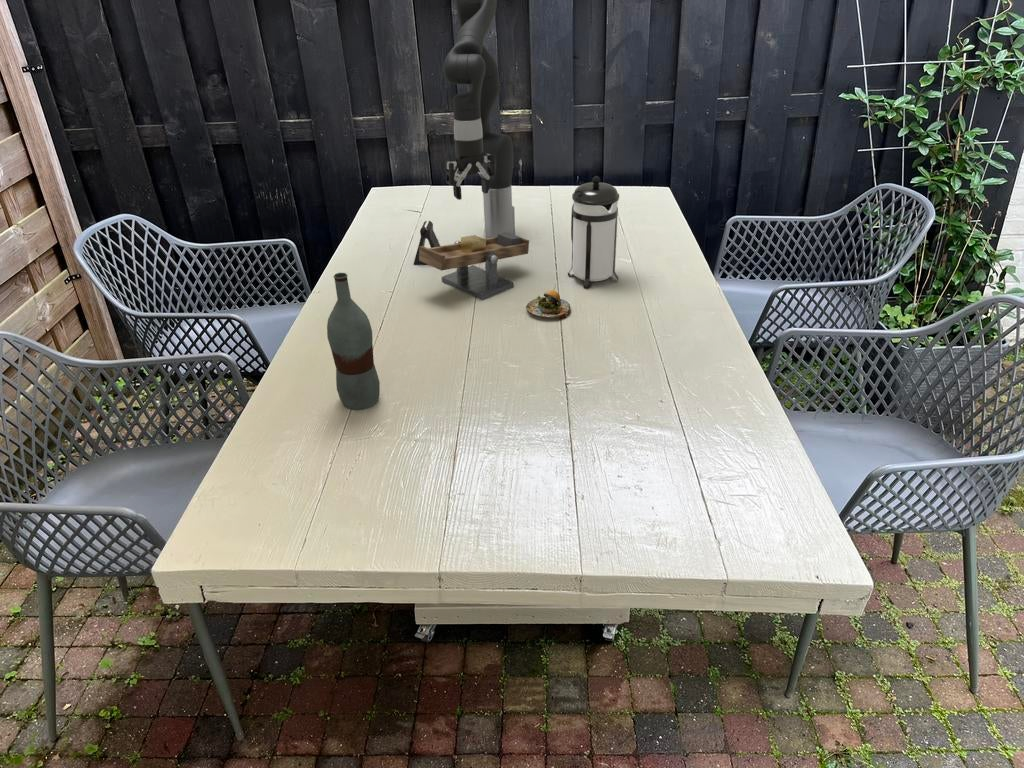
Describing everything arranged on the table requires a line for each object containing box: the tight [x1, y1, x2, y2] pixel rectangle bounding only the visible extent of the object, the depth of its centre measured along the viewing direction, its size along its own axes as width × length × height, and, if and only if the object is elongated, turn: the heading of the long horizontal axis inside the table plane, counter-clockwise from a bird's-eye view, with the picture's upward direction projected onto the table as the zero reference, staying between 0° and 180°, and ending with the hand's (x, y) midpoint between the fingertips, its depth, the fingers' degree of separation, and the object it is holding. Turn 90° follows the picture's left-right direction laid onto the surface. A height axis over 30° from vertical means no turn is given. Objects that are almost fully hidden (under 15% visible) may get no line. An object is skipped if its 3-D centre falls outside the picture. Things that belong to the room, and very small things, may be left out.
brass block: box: [460, 234, 486, 254], centre depth 208 cm, size 5×5×4 cm
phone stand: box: [413, 220, 441, 266], centre depth 227 cm, size 9×6×12 cm, turn 86°
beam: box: [418, 232, 530, 272], centre depth 209 cm, size 32×10×4 cm, turn 133°
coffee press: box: [567, 175, 620, 290], centre depth 209 cm, size 17×16×30 cm
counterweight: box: [497, 232, 523, 247], centre depth 217 cm, size 4×6×3 cm, turn 43°
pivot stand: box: [441, 240, 515, 301], centre depth 212 cm, size 12×18×11 cm, turn 43°
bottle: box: [326, 272, 381, 411], centre depth 156 cm, size 9×9×30 cm
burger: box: [525, 284, 572, 321], centre depth 197 cm, size 12×12×8 cm
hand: (471, 195), depth 205 cm, fingers open, 8 cm apart
